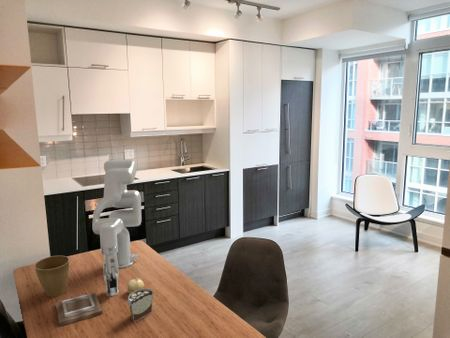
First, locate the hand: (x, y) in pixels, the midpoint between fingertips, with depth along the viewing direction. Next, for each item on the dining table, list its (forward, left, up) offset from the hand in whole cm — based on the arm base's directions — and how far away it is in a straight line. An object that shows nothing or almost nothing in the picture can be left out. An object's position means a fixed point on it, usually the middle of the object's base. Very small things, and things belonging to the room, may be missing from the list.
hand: (111, 283), depth 164 cm
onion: (-10, +5, -5) cm, 12 cm away
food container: (-6, +24, -5) cm, 25 cm away
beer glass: (0, 0, -5) cm, 5 cm away
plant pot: (+24, -14, -5) cm, 28 cm away
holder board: (+16, +7, -5) cm, 18 cm away
